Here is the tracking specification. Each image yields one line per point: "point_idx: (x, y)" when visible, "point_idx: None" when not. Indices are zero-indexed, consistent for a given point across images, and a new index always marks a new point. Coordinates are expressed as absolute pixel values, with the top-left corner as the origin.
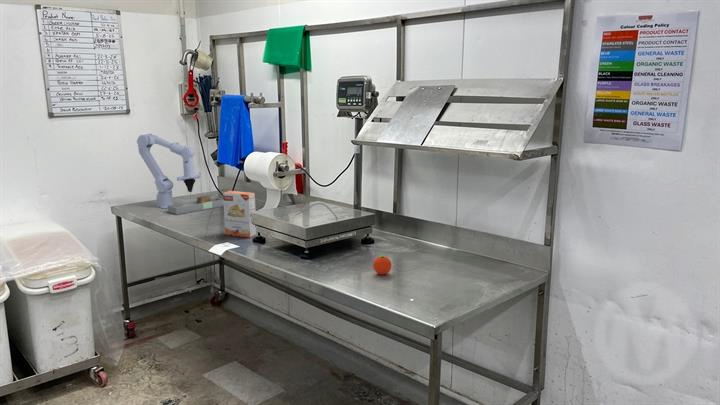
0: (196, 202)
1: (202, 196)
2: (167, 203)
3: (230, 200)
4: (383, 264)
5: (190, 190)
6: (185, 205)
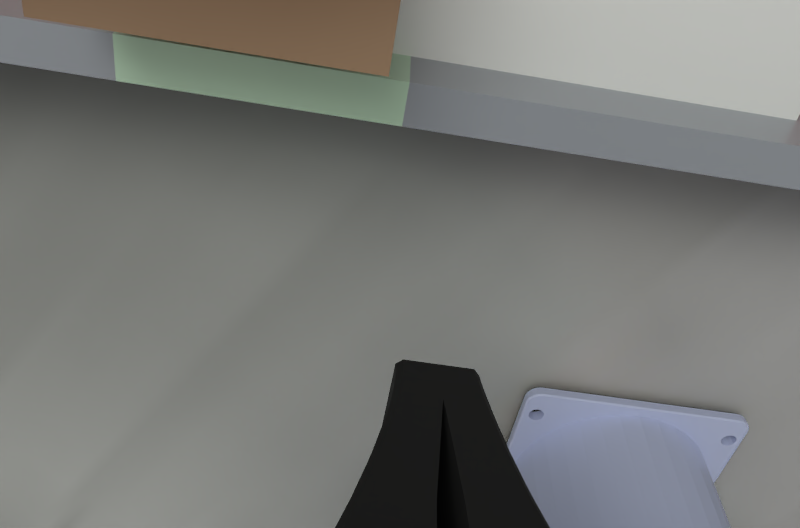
0: None
1: (176, 25)
2: (684, 470)
3: None
4: None
5: (468, 398)
6: (697, 103)
